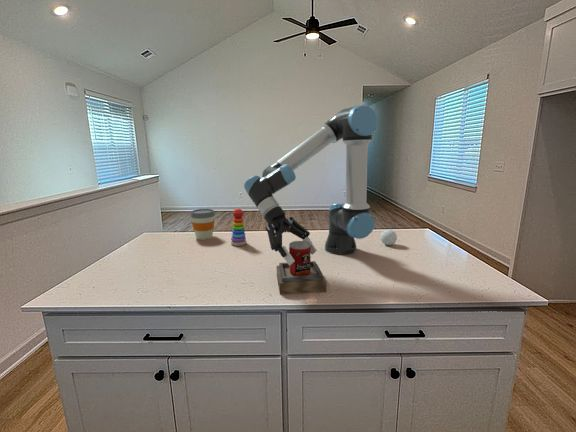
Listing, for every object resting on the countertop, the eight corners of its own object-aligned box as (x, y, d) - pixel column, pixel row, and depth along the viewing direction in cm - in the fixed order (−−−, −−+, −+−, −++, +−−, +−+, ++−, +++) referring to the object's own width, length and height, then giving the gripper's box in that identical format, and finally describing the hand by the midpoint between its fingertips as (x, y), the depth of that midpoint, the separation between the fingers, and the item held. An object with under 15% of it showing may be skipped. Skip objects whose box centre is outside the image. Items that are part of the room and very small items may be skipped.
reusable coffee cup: (189, 236, 172) (187, 210, 169) (210, 232, 179) (208, 207, 176) (197, 241, 162) (195, 214, 159) (219, 237, 170) (217, 211, 166)
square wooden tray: (316, 273, 121) (317, 260, 119) (325, 291, 105) (326, 276, 104) (276, 275, 119) (276, 262, 118) (279, 294, 104) (279, 279, 102)
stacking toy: (243, 246, 154) (242, 210, 150) (228, 245, 155) (226, 210, 151) (248, 242, 161) (247, 207, 157) (234, 241, 163) (232, 207, 159)
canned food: (296, 278, 106) (296, 248, 104) (285, 270, 113) (285, 242, 111) (314, 274, 110) (315, 245, 107) (303, 267, 117) (303, 239, 114)
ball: (379, 246, 153) (380, 230, 151) (380, 241, 160) (381, 227, 158) (396, 248, 150) (397, 232, 148) (397, 243, 157) (398, 228, 155)
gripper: (287, 212, 126) (316, 254, 120) (242, 223, 107) (275, 274, 101) (297, 200, 122) (328, 243, 116) (252, 210, 103) (287, 262, 97)
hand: (303, 258), depth 109 cm, fingers open, 13 cm apart
